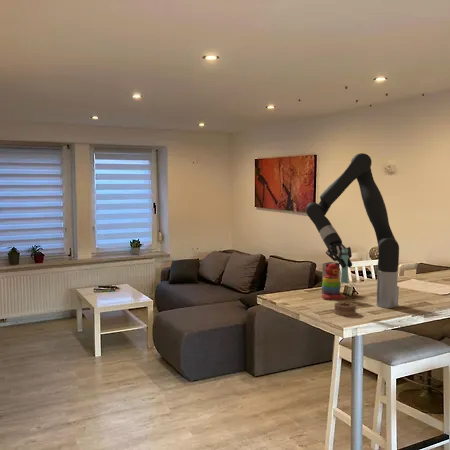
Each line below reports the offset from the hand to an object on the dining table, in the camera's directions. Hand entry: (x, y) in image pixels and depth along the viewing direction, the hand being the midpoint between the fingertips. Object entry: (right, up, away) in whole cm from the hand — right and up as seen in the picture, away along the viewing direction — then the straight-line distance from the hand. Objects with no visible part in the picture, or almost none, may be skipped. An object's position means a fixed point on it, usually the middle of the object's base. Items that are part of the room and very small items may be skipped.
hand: (347, 266), depth 213 cm
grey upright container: (+2, -18, +44) cm, 47 cm away
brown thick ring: (-1, -22, +3) cm, 22 cm away
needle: (-1, -7, +2) cm, 8 cm away
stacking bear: (0, -19, +33) cm, 38 cm away
